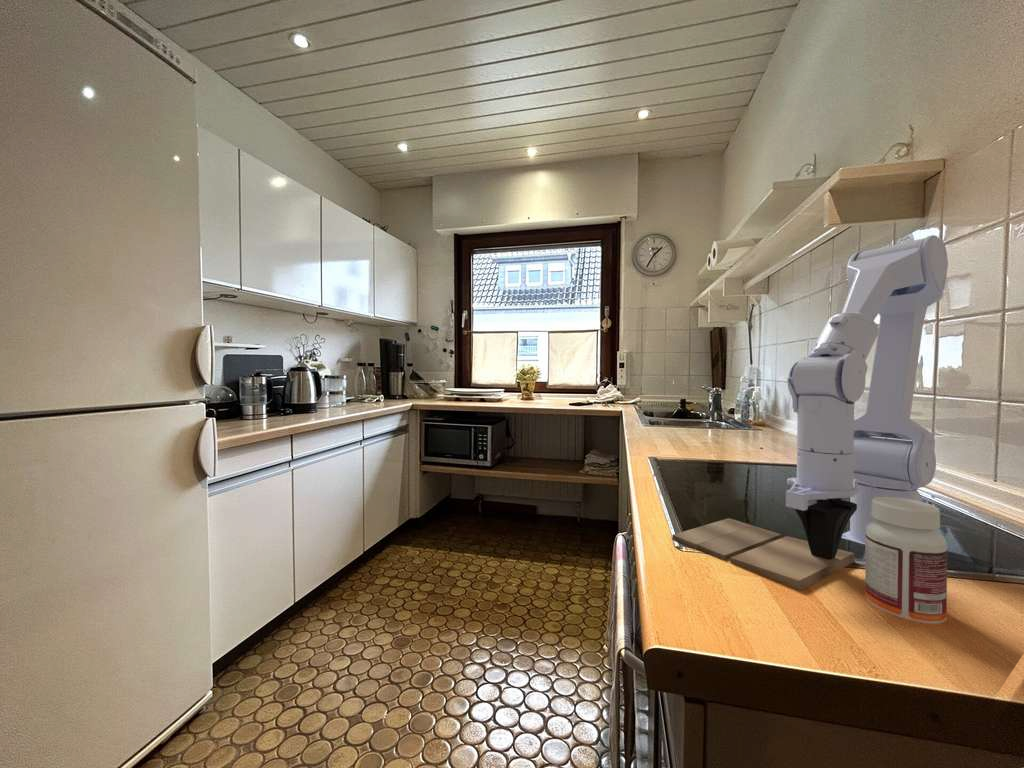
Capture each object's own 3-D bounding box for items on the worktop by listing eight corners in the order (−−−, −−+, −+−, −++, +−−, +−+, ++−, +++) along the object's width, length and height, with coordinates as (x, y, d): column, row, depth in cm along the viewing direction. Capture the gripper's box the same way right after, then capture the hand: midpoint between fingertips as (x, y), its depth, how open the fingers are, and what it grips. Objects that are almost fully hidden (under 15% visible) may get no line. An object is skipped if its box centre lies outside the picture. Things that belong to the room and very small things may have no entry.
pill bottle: (945, 611, 42) (947, 503, 42) (947, 637, 38) (949, 518, 38) (867, 589, 47) (868, 491, 47) (861, 611, 43) (862, 503, 42)
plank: (787, 544, 59) (786, 536, 60) (854, 562, 53) (854, 553, 53) (730, 567, 52) (730, 557, 52) (799, 591, 45) (799, 580, 46)
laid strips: (728, 525, 67) (728, 518, 67) (785, 543, 60) (785, 535, 60) (672, 542, 60) (672, 534, 60) (728, 566, 53) (729, 557, 53)
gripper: (815, 441, 59) (814, 535, 59) (760, 450, 52) (759, 556, 52) (878, 449, 53) (876, 553, 53) (825, 460, 46) (823, 580, 46)
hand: (822, 556), depth 52 cm, fingers closed, pressing on plank
